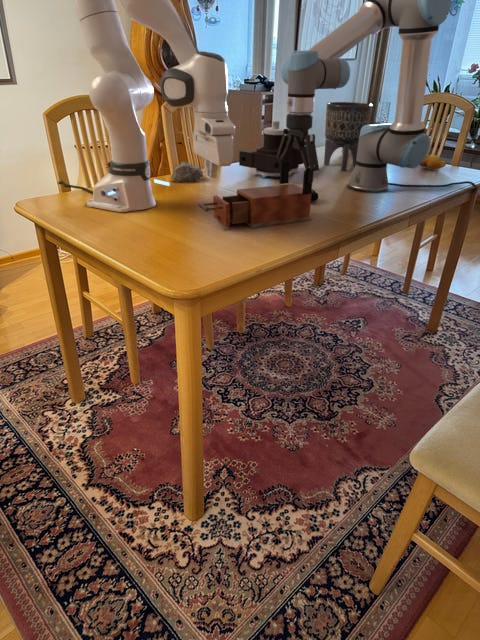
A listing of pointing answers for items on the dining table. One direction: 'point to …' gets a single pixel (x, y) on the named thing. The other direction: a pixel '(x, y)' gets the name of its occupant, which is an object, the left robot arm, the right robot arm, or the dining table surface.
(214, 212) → the drawer
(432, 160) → the toy
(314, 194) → the tape measure
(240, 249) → the dining table surface
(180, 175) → the rock
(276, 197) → the cabinet
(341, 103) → the planter
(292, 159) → the mechanical component
